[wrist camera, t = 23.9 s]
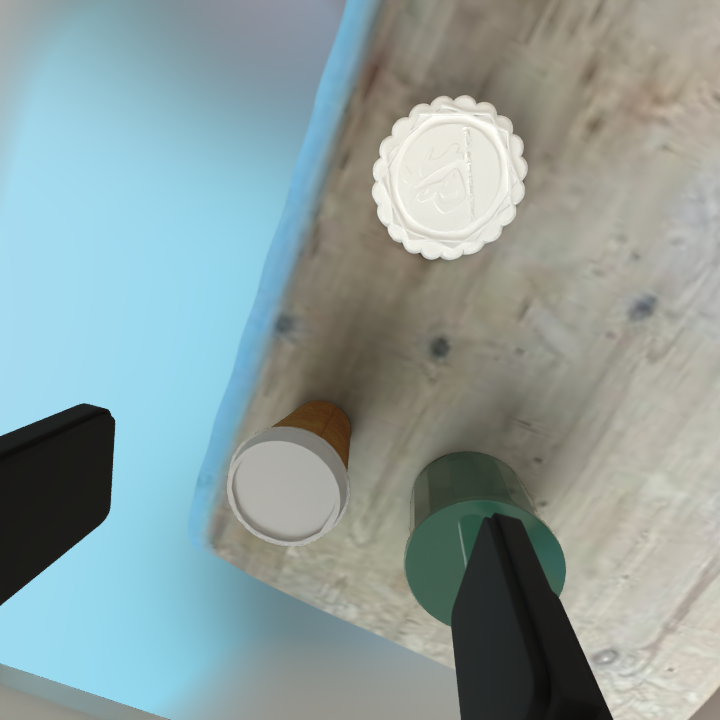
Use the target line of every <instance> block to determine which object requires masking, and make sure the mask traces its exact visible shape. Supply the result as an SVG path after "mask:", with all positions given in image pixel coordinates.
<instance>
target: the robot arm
mask: <svg viewBox="0 0 720 720" xmlns="http://www.w3.org/2000/svg"><path fill="white" fill-rule="evenodd" d="M114 436H115V420H114V418H113V417H112V416H111V413H110V411H109V410H108V409H105V408H101V407H97V406H94V405H90V404H85V403H83V404H80V405H77V406H74V407H72V408H69V409H67V410H64V411H62V412H59V413H57V414H54V415H52V416H49V417H47V418H44V419H42V420H40V421H37V422H35V423H32V424H30V425H27V426H25V427H22V428H20V429H17V430H15V431H12V432H10V433H7V434H5V435H2V436H0V606H1V605H2V604H3V603H4V602H5V601H7V600H8V599H9V598H10V597H12V596H13V595H14V594H15V593H16V592H18V591H19V590H20V589H21V588H23V587H24V586H25V585H26V584H28V583H29V582H30V581H31V580H32V579H34V578H35V577H36V576H37V575H39V574H40V573H41V572H42V571H44V570H45V569H46V568H47V567H49V566H50V565H51V564H52V563H53V562H55V561H56V560H57V559H58V558H60V557H61V556H62V555H63V554H65V553H66V552H67V551H68V550H69V549H70V548H72V547H73V546H74V545H76V544H77V543H78V542H79V541H81V540H82V539H83V538H84V537H85V536H87V535H88V534H89V533H90V532H92V531H93V530H94V529H95V528H96V527H98V526H99V525H100V524H101V523H102V522H103V521H104V520H105V519H106V517H107V515H108V514H109V511H110V505H111V488H112V471H113V453H114ZM451 629H452V638H453V648H454V657H455V666H456V675H457V685H458V694H459V704H460V714H461V720H613V718H612V716H611V713H610V711H609V709H608V707H607V704H606V702H605V700H604V698H603V695H602V693H601V691H600V689H599V686H598V684H597V682H596V680H595V677H594V675H593V673H592V671H591V668H590V666H589V664H588V662H587V659H586V657H585V655H584V653H583V650H582V648H581V646H580V644H579V641H578V639H577V637H576V635H575V632H574V630H573V628H572V626H571V623H570V621H569V619H568V617H567V614H566V612H565V610H564V608H563V605H562V603H561V601H560V599H559V597H558V596H557V594H556V593H554V592H553V591H552V590H551V587H550V585H549V583H548V580H547V578H546V576H545V573H544V571H543V569H542V566H541V564H540V562H539V560H538V557H537V555H536V553H535V550H534V548H533V546H532V543H531V541H530V539H529V536H528V534H527V532H526V529H525V527H524V525H523V523H522V521H521V520H520V519H517V518H514V517H510V516H506V515H502V514H499V513H494V514H493V515H492V517H491V518H489V517H484V519H483V521H482V523H481V526H480V529H479V532H478V535H477V538H476V541H475V544H474V547H473V550H472V553H471V556H470V559H469V561H468V564H467V567H466V570H465V573H464V576H463V579H462V582H461V585H460V588H459V591H458V594H457V597H456V600H455V603H454V605H453V609H452V615H451ZM0 720H169V719H166V718H163V717H160V716H157V715H154V714H151V713H148V712H145V711H142V710H139V709H136V708H133V707H130V706H127V705H124V704H121V703H118V702H115V701H112V700H109V699H106V698H103V697H100V696H97V695H94V694H91V693H88V692H85V691H82V690H79V689H76V688H73V687H70V686H67V685H64V684H61V683H58V682H55V681H52V680H49V679H46V678H43V677H40V676H37V675H33V674H30V673H28V672H24V671H21V670H18V669H15V668H12V667H9V666H6V665H3V664H0Z"/></svg>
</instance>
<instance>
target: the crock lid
mask: <svg viewBox="0 0 720 720" xmlns="http://www.w3.org/2000/svg"><path fill="white" fill-rule="evenodd" d="M494 513H499V514H502V515H506V516H510V517H514V518H517V519H520V520H521V521H522V523H523V525H524V527H525V529H526V532H527V534H528V536H529V539H530V541H531V543H532V546H533V548H534V550H535V553H536V555H537V557H538V560H539V562H540V564H541V566H542V569H543V571H544V573H545V576H546V578H547V580H548V583H549V585H550V587H551V590H552V591H553V592H554V593H556V594H557V596H558V597H559V596H560V594H561V592H562V589H563V586H564V582H565V575H566V565H565V558H564V554H563V551H562V549H561V546H560V544H559V542H558V540H557V538H556V537H555V535H554V533H553V532H552V530H551V529H550V528H549V526H548V525H547V524H546V523H545V522H544V521H543V520H542V519H541V518H540V517H538V516H537V515H536V514H534V513H533V512H532V511H530V510H528V509H527V508H525V507H523V506H521V505H519V504H516V503H514V502H511V501H508V500H504V499H501V498H495V497H485V496H475V497H466V498H460V499H456V500H453V501H450V502H447V503H445V504H443V505H440V506H438V507H437V508H435V509H433V510H432V511H430V512H429V513H428V514H427V515H425V516H424V517H423V518H422V519H421V520H420V521H419V522H418V523H417V525H416V526H415V528H414V529H413V530H412V532H411V534H410V536H409V538H408V541H407V544H406V547H405V554H404V571H405V577H406V580H407V583H408V586H409V588H410V590H411V592H412V594H413V596H414V597H415V599H416V600H417V602H418V603H419V604H420V605H421V606H422V607H423V608H424V609H425V610H426V611H427V612H428V613H429V614H430V615H432V616H433V617H434V618H436V619H437V620H439V621H441V622H442V623H444V624H446V625H448V626H451V615H452V609H453V605H454V603H455V600H456V597H457V594H458V591H459V588H460V585H461V582H462V579H463V576H464V573H465V570H466V567H467V564H468V561H469V559H470V556H471V553H472V550H473V547H474V544H475V541H476V538H477V535H478V532H479V529H480V526H481V523H482V521H483V519H484V517H489V518H491V517H492V515H493V514H494Z"/></svg>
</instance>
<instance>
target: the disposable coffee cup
mask: <svg viewBox="0 0 720 720" xmlns="http://www.w3.org/2000/svg"><path fill="white" fill-rule="evenodd" d="M350 436H351V427H350V423H349V421H348V419H347V417H346V415H345V414H344V413H343V411H342V410H340V409H339V408H338V407H336V406H335V405H333V404H331V403H329V402H325V401H312V402H309V403H306V404H304V405H303V406H301V407H300V408H298V409H297V410H296V411H294V412H293V413H291V414H290V415H288V416H287V417H285V418H284V419H283V420H281V421H280V422H278V423H277V424H275V425H274V426H273V427H271V428H267V429H265V430H262V431H259V432H257V433H255V434H253V435H252V436H250V437H249V438H247V439H246V440H245V441H244V442H243V443H242V444H241V445H240V446H239V447H238V449H237V450H236V452H235V454H234V455H233V457H232V460H231V463H230V466H229V475H228V479H227V494H228V499H229V502H230V505H231V508H232V510H233V512H234V513H235V515H236V517H237V518H238V520H239V521H240V522H241V523H242V524H243V525H244V527H245V528H246V529H248V530H249V531H250V532H252V533H253V534H254V535H256V536H257V537H259V538H261V539H263V540H266V541H268V542H270V543H273V544H277V545H284V546H299V545H305V544H308V543H311V542H313V541H315V540H317V539H319V538H321V537H322V536H323V535H325V534H326V533H327V532H328V531H330V530H331V529H332V528H333V527H334V526H336V525H337V524H338V522H339V521H340V520H341V518H342V517H343V515H344V513H345V511H346V509H347V506H348V503H349V497H350V485H349V477H348V474H347V469H348V458H349V446H350Z"/></svg>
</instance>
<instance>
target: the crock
mask: <svg viewBox="0 0 720 720" xmlns="http://www.w3.org/2000/svg"><path fill="white" fill-rule="evenodd" d="M475 496H485V497H495V498H501V499H504V500H508V501H511V502H514V503H516V504H519V505H521V506H523V507H525V508H527V509H528V510H530V511H532V512H533V513H534V514H536V515H537V516H538V517H540V515H539V513H538V512H537V510H536V508H535V506H534V504H533V502H532V500H531V498H530V496H529V494H528V492H527V490H526V488H525V487H524V485H523V484H522V482H521V481H520V479H519V477H518V476H517V475H516V473H515V472H514V471H513V470H512V469H511V468H510V467H509V466H507V465H506V464H505V463H503V462H502V461H500V460H498V459H497V458H494V457H492V456H489V455H486V454H482V453H477V452H457V453H452V454H449V455H446V456H443V457H441V458H439V459H437V460H435V461H434V462H432V463H431V464H429V465H428V466H427V467H426V468H425V469H424V470H423V471H422V472H421V474H420V475H419V477H418V478H417V480H416V482H415V484H414V487H413V490H412V496H411V501H410V534H411V532H412V530H413V529H414V528H415V526H416V525H417V523H418V522H419V521H420V520H421V519H422V518H423V517H424V516H425V515H427V514H428V513H429V512H430V511H432V510H433V509H435V508H437V507H438V506H440V505H443V504H445V503H447V502H450V501H453V500H456V499H460V498H466V497H475ZM540 518H541V517H540Z"/></svg>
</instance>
